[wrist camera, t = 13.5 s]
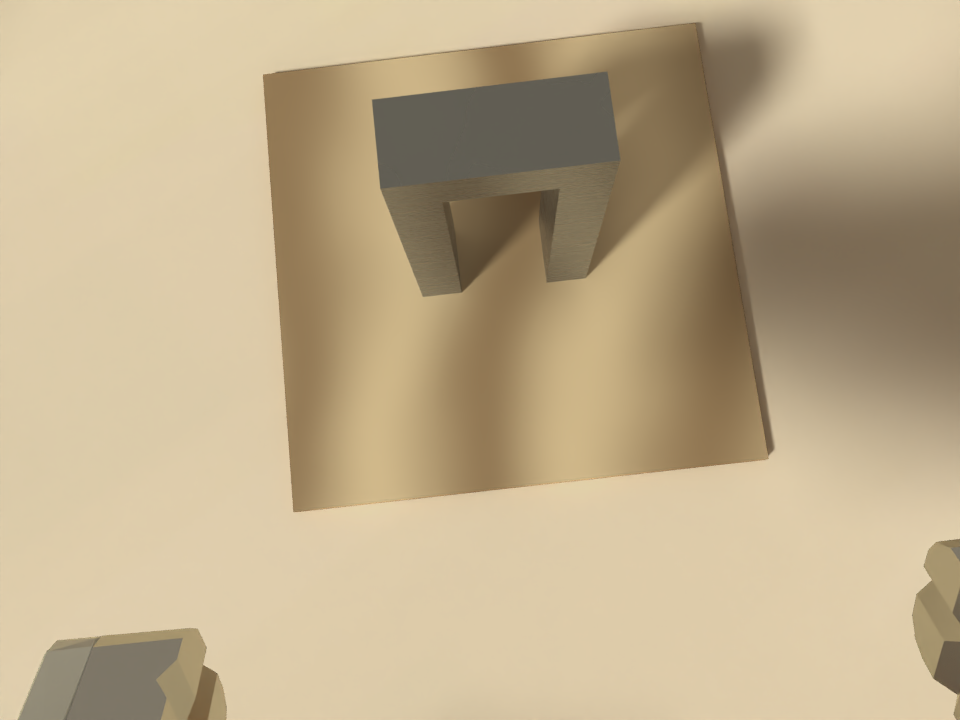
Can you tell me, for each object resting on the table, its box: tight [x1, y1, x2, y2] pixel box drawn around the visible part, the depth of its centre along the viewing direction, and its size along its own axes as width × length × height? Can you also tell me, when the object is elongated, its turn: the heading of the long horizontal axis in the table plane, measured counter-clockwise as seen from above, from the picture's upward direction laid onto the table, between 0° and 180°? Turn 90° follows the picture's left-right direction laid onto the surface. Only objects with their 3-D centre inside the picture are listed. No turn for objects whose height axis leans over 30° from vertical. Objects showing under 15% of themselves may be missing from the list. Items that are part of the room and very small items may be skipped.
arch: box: [372, 72, 621, 297], centre depth 23 cm, size 5×2×9 cm, turn 96°
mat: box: [263, 23, 769, 512], centre depth 28 cm, size 14×14×1 cm
